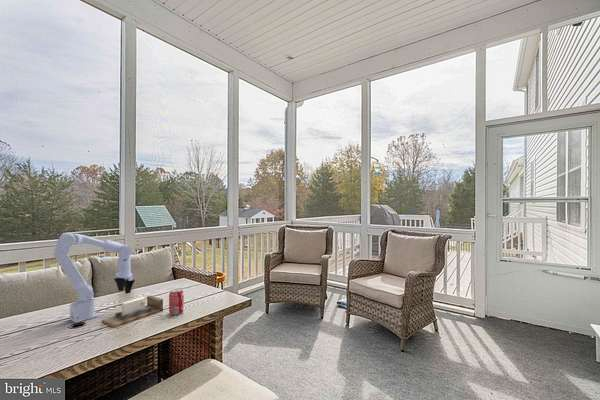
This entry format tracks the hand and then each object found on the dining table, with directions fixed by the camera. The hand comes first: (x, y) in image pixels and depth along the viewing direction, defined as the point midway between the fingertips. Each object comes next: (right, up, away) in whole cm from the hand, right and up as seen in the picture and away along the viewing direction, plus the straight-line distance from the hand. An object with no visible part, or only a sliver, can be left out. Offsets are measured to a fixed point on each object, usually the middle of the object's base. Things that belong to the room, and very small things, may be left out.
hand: (124, 292), depth 151 cm
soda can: (+31, -10, -5) cm, 33 cm away
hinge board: (+11, -9, -9) cm, 17 cm away
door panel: (+11, -8, -9) cm, 16 cm away
